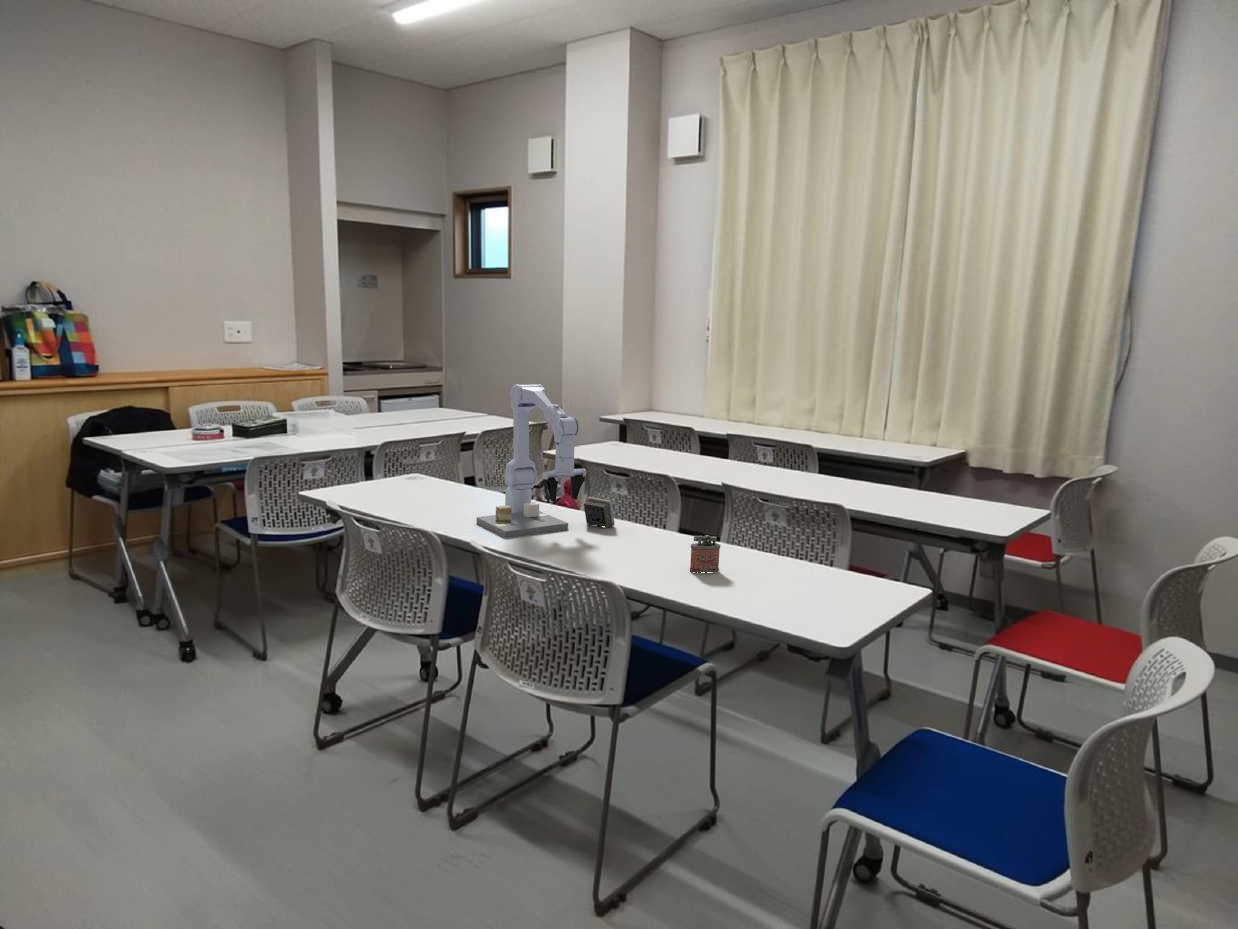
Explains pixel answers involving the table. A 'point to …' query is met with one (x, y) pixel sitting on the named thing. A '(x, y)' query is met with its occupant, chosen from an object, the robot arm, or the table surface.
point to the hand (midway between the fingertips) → (563, 500)
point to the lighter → (705, 555)
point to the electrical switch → (599, 512)
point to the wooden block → (503, 512)
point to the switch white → (531, 509)
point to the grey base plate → (522, 524)
